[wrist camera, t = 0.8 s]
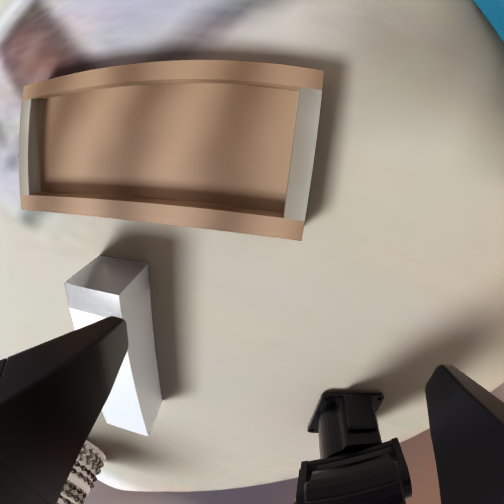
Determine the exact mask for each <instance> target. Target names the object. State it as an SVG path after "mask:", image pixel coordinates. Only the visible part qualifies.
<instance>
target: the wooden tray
mask: <svg viewBox="0 0 504 504" xmlns="http://www.w3.org/2000/svg"><path fill="white" fill-rule="evenodd" d="M323 79H324V71H322V70H317V69H311V68H304V67H298V66H290V65H282V64H273V63H263V62H250V61H233V60H176V61H158V62H146V63H136V64H127V65H119V66H112V67H105V68H99V69H94V70H88V71H83V72H78V73H73V74H69V75H64V76H60V77H56V78H52V79H48V80H45V81H41V82H37V83H34V84H31V85H27V86H24V88H23V96H22V105H21V117H20V133H19V181H20V198H21V209H22V210H33V211H44V212H55V213H66V214H76V215H86V216H96V217H105V218H115V219H124V220H134V221H143V222H152V223H161V224H169V225H178V226H187V227H195V228H204V229H212V230H220V231H228V232H236V233H244V234H252V235H260V236H268V237H275V238H283V239H291V240H298V241H301V240H302V234H303V228H304V222H305V216H306V210H307V204H308V197H309V191H310V184H311V177H312V170H313V163H314V155H315V148H316V140H317V132H318V124H319V116H320V107H321V98H322V89H323Z"/></svg>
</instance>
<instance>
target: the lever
mask: <svg viewBox="0 0 504 504" xmlns="http://www.w3.org/2000/svg"><path fill="white" fill-rule="evenodd" d="M473 1H474V2H475V4H476V5H477V6H478V7H479V9H480V10H481V11H482V12H483V14H484V15H485V16H486V18H487V19H488V20H489V22H490V23H491V25H492V26H493V27H494V29H495V30H496V32H497V33H498V35H499V36H500V38H501V39H502V41H503V42H504V0H473Z"/></svg>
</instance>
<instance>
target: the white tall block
mask: <svg viewBox="0 0 504 504" xmlns="http://www.w3.org/2000/svg"><path fill="white" fill-rule="evenodd" d="M65 288H66V294H67V298H68V303H69V308H70V312H71V316H72V320H73V324H74V328H75V330H77V329H80V328H82V327H85V326H87V325H90V324H92V323H95V322H97V321H99V320H102V319H104V318H107V317H109V316H115V317H119V318H123V319H124V320H125V321H126V324H127V333H128V342H129V345H128V350H127V353H126V355H125V358H124V360H123V363H122V365H121V367H120V370H119V372H118V375H117V377H116V380H115V383H114V385H113V388H112V390H111V392H110V395H109V397H108V399H107V401H106V403H105V404H104V406H103V408H102V412H103V415H104V417H105V420H106V422H107V423H108V424H111V425H114V426H117V427H120V428H123V429H126V430H129V431H132V432H135V433H139V434H142V435H146V436H148V435H149V433H150V430H151V428H152V425H153V423H154V420H155V418H156V415H157V413H158V410H159V408H160V405H161V403H162V395H161V389H160V382H159V375H158V368H157V360H156V351H155V342H154V333H153V322H152V310H151V296H150V279H149V263H144V262H138V261H132V260H126V259H119V258H113V257H107V256H101V255H99V256H98V257H97V258H95V259H94V260H93V261H91V262H90V263H89V264H88V265H86V266H85V267H84V268H82V269H81V270H80V271H79V272H77V273H76V274H75V275H74V276H72V277H71V278H70V279H69V280H67V281H66V282H65Z"/></svg>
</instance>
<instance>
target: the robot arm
mask: <svg viewBox="0 0 504 504" xmlns="http://www.w3.org/2000/svg"><path fill="white" fill-rule="evenodd" d="M128 345H129V342H128V333H127V324H126V321H125V320H124V319H123V318H119V317H115V316H109V317H107V318H104V319H102V320H99V321H97V322H95V323H92V324H90V325H87V326H85V327H82V328H80V329H77V330H75V331H72V332H70V333H67V334H65V335H62V336H60V337H57V338H55V339H52V340H50V341H48V342H45V343H43V344H40V345H38V346H35V347H33V348H30V349H28V350H25V351H23V352H20V353H18V354H15V355H12V356H10V357H8V358H7V359H6V358H5V359H2V360H0V504H56V503H57V501H58V499H59V497H60V494H61V492H62V490H63V488H64V485H65V483H66V481H67V479H68V477H69V475H70V472H71V470H72V468H73V466H74V464H75V462H76V460H77V458H78V456H79V454H80V452H81V449H82V447H83V445H84V443H85V441H86V439H87V437H88V435H89V433H90V431H91V429H92V427H93V426H94V424H95V422H96V420H97V418H98V416H99V414H100V412H101V410H102V408H103V406H104V404H105V403H106V401H107V399H108V397H109V395H110V392H111V390H112V388H113V385H114V383H115V380H116V377H117V375H118V372H119V370H120V367H121V365H122V363H123V360H124V358H125V355H126V353H127V350H128ZM425 393H426V400H427V408H428V416H429V425H430V432H431V438H432V443H433V449H434V454H435V460H436V466H437V473H438V480H439V488H440V496H441V504H504V403H503V402H502V401H501V400H499V399H498V398H497V397H495V396H494V395H493V394H491V393H490V392H488V391H487V390H486V389H484V388H483V387H482V386H480V385H479V384H477V383H476V382H475V381H473V380H472V379H471V378H469V377H468V376H466V375H465V374H464V373H462V372H461V371H459V370H458V369H457V368H455V367H454V366H452V365H451V364H440V365H438V366H437V367H436V369H435V371H434V372H433V374H432V376H431V377H430V379H429V380H428V382H427V384H426V387H425ZM383 399H384V395H383V393H336V392H325V393H323V394H322V395H321V397H320V400H319V402H318V404H317V407H316V409H315V411H314V414H313V416H312V418H311V421H310V423H309V425H308V432H311V433H318V434H319V446H320V459H318V460H313V461H303V462H302V463H301V469H300V470H299V478H298V486H297V493H296V496H295V499H294V503H293V504H406V502H405V499H407V498H410V497H412V487H411V480H410V475H409V471H408V468H407V465H406V462H405V459H404V456H403V453H402V450H401V447H400V444H399V441H398V439H397V438H394V439H391V440H390V441H387V442H384V443H382V440H381V436H380V432H379V428H378V422H377V418H376V414H375V413H376V411H377V409H378V408H379V406H380V404H381V403H382V401H383Z"/></svg>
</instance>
